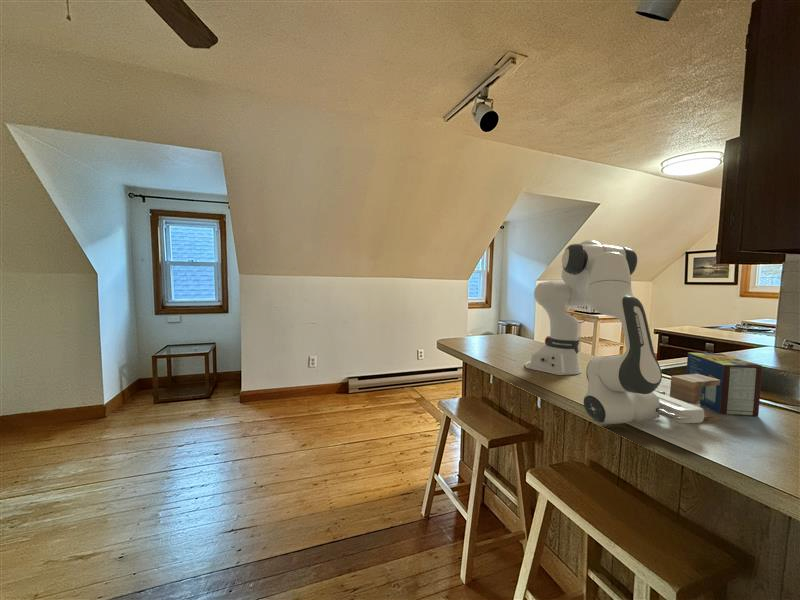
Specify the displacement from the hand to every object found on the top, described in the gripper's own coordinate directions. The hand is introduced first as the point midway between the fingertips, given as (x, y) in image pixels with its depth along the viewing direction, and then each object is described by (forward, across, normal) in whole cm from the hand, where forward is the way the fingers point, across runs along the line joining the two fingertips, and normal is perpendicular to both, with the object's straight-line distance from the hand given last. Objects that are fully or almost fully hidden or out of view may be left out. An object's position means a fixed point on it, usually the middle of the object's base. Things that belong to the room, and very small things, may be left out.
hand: (679, 399), depth 95 cm
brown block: (+5, 0, +6) cm, 8 cm away
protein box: (+24, +5, +6) cm, 25 cm away
